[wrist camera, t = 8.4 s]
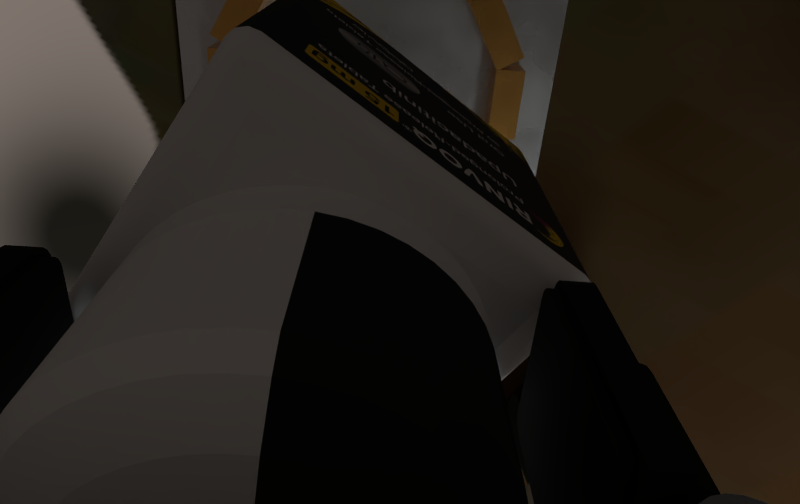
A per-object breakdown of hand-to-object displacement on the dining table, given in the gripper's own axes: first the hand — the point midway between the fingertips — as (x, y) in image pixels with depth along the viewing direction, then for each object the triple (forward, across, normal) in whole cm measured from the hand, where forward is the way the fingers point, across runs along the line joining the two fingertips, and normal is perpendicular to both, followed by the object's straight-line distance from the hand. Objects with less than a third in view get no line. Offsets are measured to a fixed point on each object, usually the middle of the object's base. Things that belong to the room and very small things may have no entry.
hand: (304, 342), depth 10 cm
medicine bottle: (+8, 0, 0) cm, 8 cm away
